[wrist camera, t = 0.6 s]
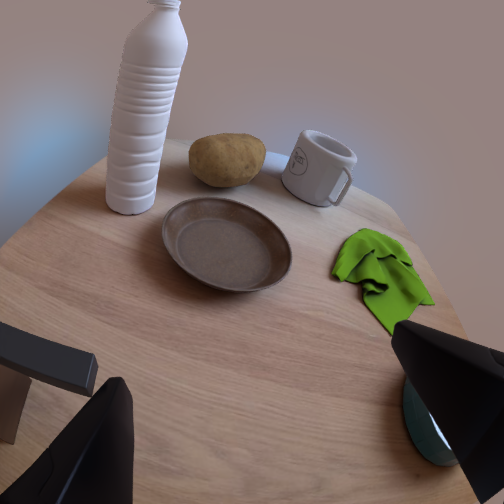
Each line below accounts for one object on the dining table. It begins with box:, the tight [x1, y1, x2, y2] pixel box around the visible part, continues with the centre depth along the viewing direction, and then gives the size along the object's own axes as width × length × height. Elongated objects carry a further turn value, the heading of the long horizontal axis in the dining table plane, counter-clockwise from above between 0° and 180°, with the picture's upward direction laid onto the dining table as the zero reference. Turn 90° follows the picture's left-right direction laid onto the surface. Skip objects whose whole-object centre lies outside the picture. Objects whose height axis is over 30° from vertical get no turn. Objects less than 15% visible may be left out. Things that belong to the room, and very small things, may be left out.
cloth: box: [331, 228, 435, 335], centre depth 40 cm, size 20×22×2 cm
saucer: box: [162, 197, 292, 292], centre depth 33 cm, size 15×15×3 cm
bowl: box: [403, 377, 459, 467], centre depth 24 cm, size 15×15×4 cm
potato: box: [189, 133, 266, 187], centre depth 43 cm, size 10×14×8 cm
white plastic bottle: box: [106, 0, 188, 215], centre depth 26 cm, size 9×6×25 cm
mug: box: [282, 130, 357, 206], centre depth 49 cm, size 14×11×10 cm
